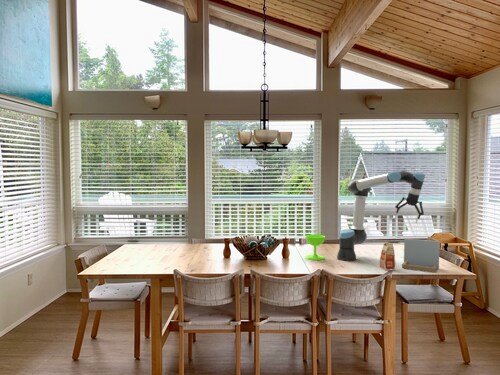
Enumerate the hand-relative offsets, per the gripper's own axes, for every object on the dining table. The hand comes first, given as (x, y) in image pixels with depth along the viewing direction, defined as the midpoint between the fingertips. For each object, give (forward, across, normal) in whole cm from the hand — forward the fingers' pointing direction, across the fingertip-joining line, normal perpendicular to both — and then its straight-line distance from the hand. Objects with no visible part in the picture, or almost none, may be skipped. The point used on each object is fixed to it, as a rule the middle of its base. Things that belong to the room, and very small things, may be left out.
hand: (406, 219), depth 292 cm
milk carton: (+33, -3, -23) cm, 40 cm away
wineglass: (+48, -58, -14) cm, 77 cm away
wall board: (+30, +18, -10) cm, 36 cm away
